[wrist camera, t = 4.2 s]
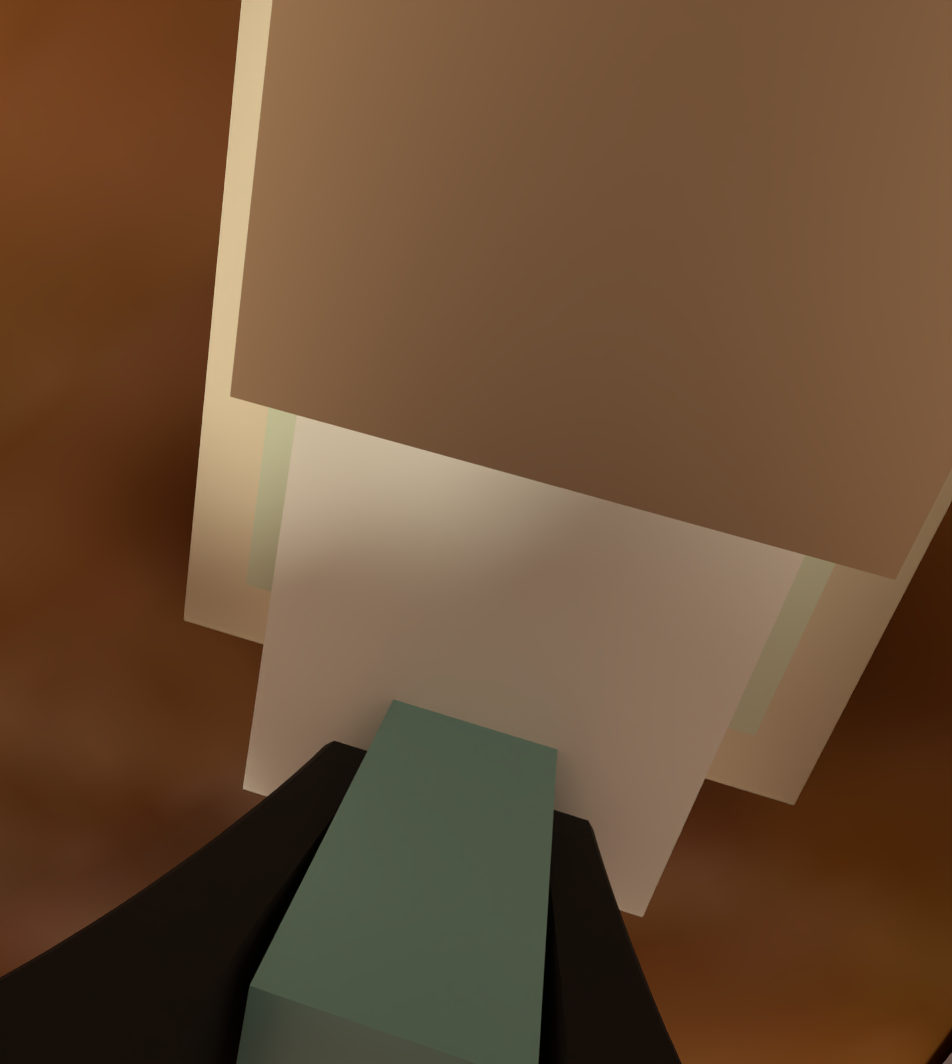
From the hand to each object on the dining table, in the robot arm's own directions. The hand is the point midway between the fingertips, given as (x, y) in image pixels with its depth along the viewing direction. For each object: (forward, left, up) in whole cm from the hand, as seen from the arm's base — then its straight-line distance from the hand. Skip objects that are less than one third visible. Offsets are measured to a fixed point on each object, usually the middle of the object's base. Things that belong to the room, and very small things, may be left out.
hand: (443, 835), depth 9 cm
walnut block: (0, -8, -1) cm, 8 cm away
